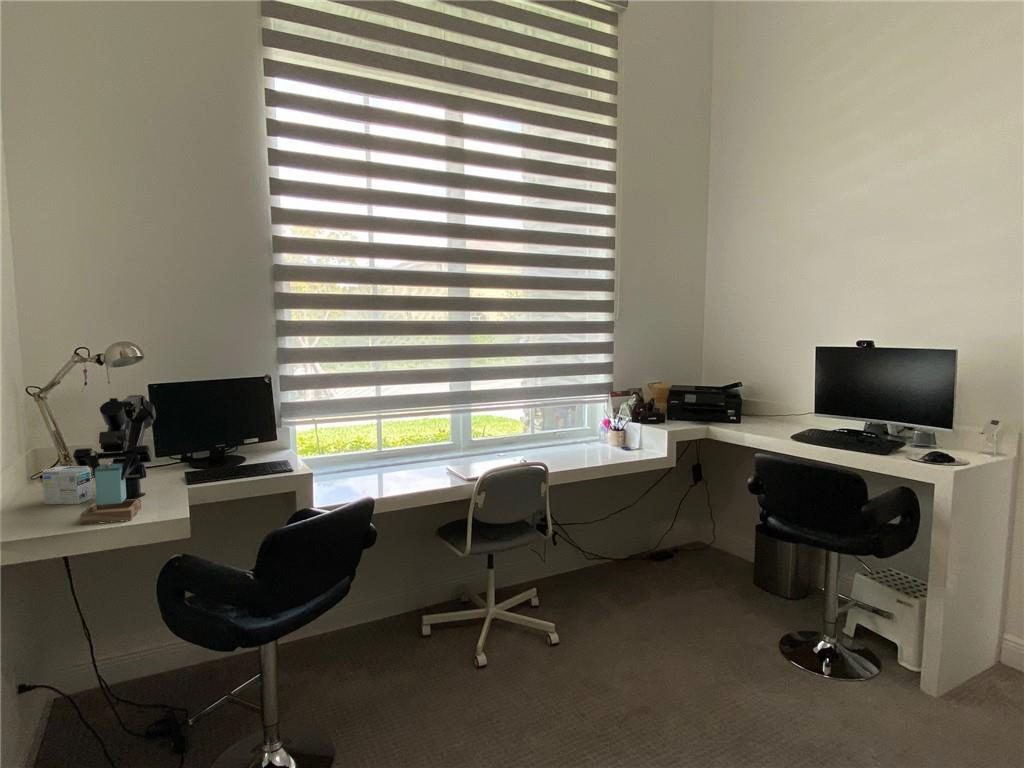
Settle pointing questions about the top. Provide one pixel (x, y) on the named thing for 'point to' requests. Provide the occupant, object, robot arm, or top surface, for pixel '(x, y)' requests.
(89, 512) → the tray
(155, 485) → the top surface
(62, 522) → the top surface
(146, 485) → the top surface
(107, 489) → the light blue block
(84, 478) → the light bulb box
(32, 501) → the top surface
